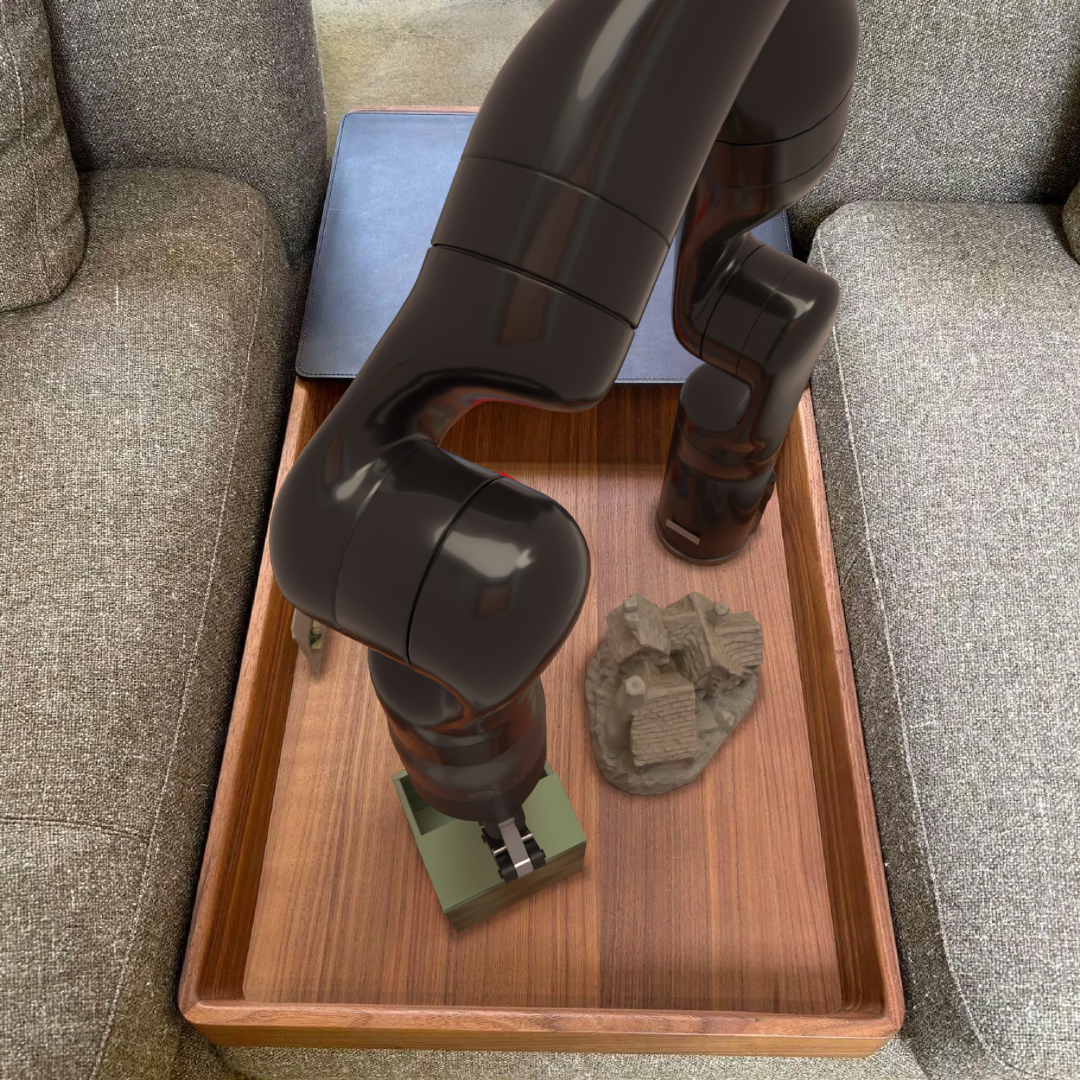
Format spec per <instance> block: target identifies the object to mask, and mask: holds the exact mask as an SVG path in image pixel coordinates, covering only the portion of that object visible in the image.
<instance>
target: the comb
mask: <svg viewBox="0 0 1080 1080" xmlns="http://www.w3.org/2000/svg"><path fill="white" fill-rule="evenodd" d="M293 611H294V612H293V616H292V620H291V626H290V631H291V638H292V640H294V641H295V642H296V643H297V644H298V646H299V648H300V651H301V653H302V654H303V656H304V657H305V658H306V660H307V662H308V663H309V664H310V666H311V668H312V669H313V671H314V672H315V674H316V675H317V676H319V675H320V670H321V664H322V659H323V658H322V657H323V652H324V643H325V639H326V633H327V628H328V627H327V626H325V625H323V624H321V623H319V622H317V621H315V620H313V619H311V618H310V617H308V616H306V615H304V614H303V613H301V612H300V611H299V610H297V609H296V608H295V607H294V610H293Z"/></svg>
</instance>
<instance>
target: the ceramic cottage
mask: <svg viewBox="0 0 1080 1080" xmlns="http://www.w3.org/2000/svg"><path fill="white" fill-rule="evenodd" d="M622 602H623V603H622V604H620V605H619V606H617V607H615V608H614V609H612V610H610V611H609V612H608V613H607V615H606V616H605V619H606V623H607V624H606V625H607V628H608V629H606V631H605V636H604V641H603V642H602V643H601V645H600V647H599V649H598V650H597V652H596V653H595V655H594V657H593V658H592V660H591V662H590V664H589V666H588V669H587V671H586V674H585V679H584V684H583V689H584V695H585V701H586V706H587V714H588V720H589V731H590V735H591V746H592V751H593V754H594V760H595V763H596V766H597V769H598V770H599V772H600V773H601V774H602V776H603V777H604V778H605V780H606V781H607V782H608V783H610V784H612V785H613V786H614V787H616V788H618V789H619V790H621V791H623V792H625V793H627V792H628V793H629V794H631V795H635V796H643V795H646V796H649V795H659V794H661V795H662V794H663V793H668V792H669V791H671V790H676V789H678V788H679V787H680V788H681V787H682V786H684V785H687V784H690V783H692V782H693V781H694V780H695V779H697V777H698V776H699V775H700V773H701V772H702V771H704V769H705V767H707V765H708V764H709V763H710V761H711V760H712V758H713V757H714V755H715V754H716V753H717V751H718V750H719V749H720V748H721V746H722V744H724V743H725V742H726V740H727V739H728V737H729V735H730V734H732V732H733V731H734V730H735V728H736V727H737V726H738V725H739V724H740V723H741V721H742V720H743V719H744V718H745V716H746V715H747V714H748V713H749V711H750V710H752V707H753V704H754V702H755V700H756V698H757V693H758V677H757V675H756V674H757V673H758V671H759V668H760V666H762V665H764V650H765V649H764V648H765V647H764V633H763V628H762V624H761V622H759V621H758V620H757V619H756V617H755V616H754V615H753V614H752V612H751V611H748V610H745V611H738V612H730V611H731V608H730V605H729V604H728V603H727V602H726V601H725V600H724V601H717V602H716V601H714V600H712V599H710V598H708V597H707V596H706V595H704V594H702V593H700V592H697V591H695V590H693V591H690V592H689V593H687V594H686V595H684V596H683V597H681V598H680V599H678V600H676V601H675V602H673V603H670V605H668V606H667V607H665V608H660V607H659V605H658V603H655V602H653V601H652V600H650V599H649V598H647V597H644V596H643V595H642V594H641V593H639V592H637V591H632V592H631V593H630V594H629V597H628V598H624V599H623V601H622Z"/></svg>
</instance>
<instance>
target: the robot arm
mask: <svg viewBox="0 0 1080 1080" xmlns="http://www.w3.org/2000/svg"><path fill="white" fill-rule="evenodd" d="M860 44H861V26H860V17H859V11H858V6H857V2H856V0H554V1H553V2H552V3H551V4H550V5H549V6H548V7H547V8H546V9H545V10H544V12H543V13H542V14H541V15H540V16H538V18H537V19H536V20H535V21H534V23H533V24H532V25H531V26H530V27H529V29H528V30H527V32H526V33H525V34H524V35H523V36H522V38H521V39H520V40H519V42H518V43H517V44H516V45H515V47H514V48H513V50H511V53H510V55H509V56H508V57H507V58H506V60H505V62H504V63H503V64H502V66H501V68H500V69H499V71H498V73H497V74H496V76H495V78H494V80H493V82H492V84H491V86H489V88H488V91H487V93H486V95H485V96H484V98H483V100H482V103H481V104H480V105H481V106H480V107H479V110H478V112H477V114H476V116H475V119H474V121H473V123H472V126H471V129H470V131H469V134H468V137H467V139H466V142H465V145H464V147H463V150H462V152H461V156H460V159H459V162H458V164H457V167H456V170H455V172H454V174H453V177H452V181H451V184H450V186H449V189H448V191H447V195H446V197H445V200H444V203H443V206H442V208H441V211H440V214H439V217H438V219H437V222H436V225H435V228H434V231H433V232H432V235H431V238H430V245H431V246H429V247H428V248H427V250H426V253H425V255H424V259H423V260H422V264H421V267H420V269H419V272H418V275H417V278H416V280H415V281H414V284H413V286H412V288H411V290H410V291H409V293H408V295H407V297H406V299H405V300H404V302H403V304H402V305H401V307H400V308H399V310H398V311H397V313H396V315H395V316H394V318H393V320H392V321H391V322H390V324H389V325H388V327H387V328H386V330H385V331H384V333H383V334H382V336H381V338H380V339H379V340H378V342H377V343H376V345H375V346H374V348H373V349H372V350H371V352H370V354H369V355H368V357H367V358H366V360H365V362H364V364H363V365H362V367H361V368H360V369H359V371H358V372H357V374H356V376H355V377H354V378H353V380H352V381H351V383H350V384H349V386H348V387H347V388H346V390H345V391H344V393H343V394H342V396H341V397H340V399H339V401H338V402H337V403H336V404H335V406H334V407H333V408H332V409H331V411H330V412H329V414H328V415H327V417H325V419H324V420H323V421H322V423H321V424H320V426H319V427H318V429H316V431H315V432H314V434H313V435H312V436H311V438H310V439H309V441H308V442H307V443H306V445H305V446H304V447H303V449H302V450H301V452H300V454H299V455H298V457H297V459H296V460H295V461H294V463H293V465H291V467H290V469H289V471H288V472H287V474H286V476H285V478H284V480H283V482H282V484H281V486H280V488H279V491H278V493H277V496H276V498H275V500H274V505H273V508H272V512H271V516H270V520H269V534H268V548H269V561H270V562H269V563H270V566H271V569H272V576H273V578H274V580H275V583H276V585H277V587H278V589H279V592H280V593H281V595H282V596H283V598H284V599H285V600H286V601H287V602H288V603H289V605H291V606H292V607H293V608H294V609H295V608H296V609H297V610H299V611H300V612H301V613H303V614H304V615H306V616H308V617H310V618H311V619H313V620H315V621H317V622H319V623H321V624H323V625H325V626H327V628H328V629H331V630H333V631H335V632H337V633H339V634H341V635H342V636H345V637H347V638H349V639H351V640H353V641H355V642H357V643H359V644H361V645H363V646H364V647H366V648H367V664H368V672H369V678H370V681H371V683H372V686H373V689H374V692H375V696H376V699H377V700H378V702H379V705H380V706H381V708H382V711H383V712H384V715H385V717H386V724H387V729H388V734H389V736H390V740H391V742H392V745H393V747H394V749H395V751H396V753H397V756H398V757H399V759H400V762H401V764H402V765H403V768H404V770H405V769H406V772H407V774H408V776H409V778H410V780H411V782H412V784H413V786H414V787H415V789H416V791H417V792H418V794H419V795H420V796H421V797H422V799H423V800H424V801H425V802H426V803H427V804H429V805H430V806H431V807H432V808H434V809H435V810H437V811H438V812H440V813H442V814H444V815H446V816H449V817H452V818H455V819H459V820H465V821H476V822H478V824H479V826H484V828H482V829H481V831H482V833H483V835H481V837H482V840H483V842H484V844H485V843H487V845H488V847H489V850H490V852H491V854H492V856H493V858H494V860H495V862H496V864H497V866H498V868H499V870H498V873H499V876H500V878H501V879H504V881H505V883H506V884H509V883H511V882H513V881H515V880H517V879H518V878H521V877H523V876H525V875H527V874H529V873H531V872H533V871H534V870H537V869H539V868H541V867H543V866H545V865H547V864H546V861H545V858H546V855H545V853H544V850H543V849H540V847H539V845H538V844H537V842H536V840H535V839H534V836H533V834H532V832H531V831H530V830H529V829H528V827H527V826H526V823H525V820H526V818H525V813H524V810H523V807H522V804H523V803H524V802H525V801H526V799H527V798H528V797H529V796H530V794H531V793H532V791H533V790H534V788H535V787H536V785H537V784H538V782H539V780H540V778H541V775H542V773H543V770H544V766H545V762H546V758H547V754H548V740H547V739H548V738H547V737H548V735H547V731H548V729H547V725H548V724H547V699H546V694H545V689H544V686H543V682H542V679H541V675H542V674H543V673H544V672H545V670H546V669H547V668H548V667H549V666H550V665H551V663H552V662H553V660H554V659H555V658H556V656H557V655H558V653H559V652H560V651H561V649H562V647H563V646H564V645H565V643H566V642H567V640H568V638H569V637H570V635H571V634H572V631H573V630H574V628H575V626H576V624H577V622H578V620H579V618H580V616H581V614H582V611H583V608H584V606H585V603H586V600H587V597H588V593H589V588H590V583H591V577H592V557H591V552H590V549H589V545H588V542H587V538H586V537H585V535H584V533H583V531H582V529H581V527H580V525H579V524H578V522H577V521H576V519H575V518H574V516H573V515H572V514H571V513H570V512H569V511H568V510H567V509H566V508H565V507H564V506H563V505H562V504H561V503H559V502H558V501H557V500H555V499H554V498H553V497H551V496H549V495H548V494H546V493H545V492H542V491H540V490H538V489H536V488H533V487H531V486H529V485H527V484H524V483H522V482H520V481H519V482H517V481H518V480H517V481H515V480H513V479H510V478H507V477H504V476H502V475H500V474H498V473H499V472H496V471H493V470H491V469H488V468H486V467H484V466H482V465H479V464H478V463H475V462H473V461H471V460H469V459H466V458H464V457H461V456H459V455H457V454H455V453H452V452H450V451H448V450H447V449H444V448H441V446H442V443H443V441H444V439H445V436H447V433H448V432H449V431H450V430H451V428H452V427H453V426H454V425H455V424H456V423H457V422H458V421H459V420H460V419H461V418H463V417H464V416H465V415H466V414H467V413H469V412H470V411H471V410H472V409H474V408H476V407H478V406H479V405H481V404H483V403H488V402H489V403H490V402H493V403H494V402H495V403H496V402H497V403H505V404H506V403H507V404H512V405H513V404H514V405H520V406H524V407H530V408H536V409H541V410H546V411H552V412H557V413H558V412H559V413H560V412H561V413H574V414H575V413H582V412H587V411H589V410H592V409H594V408H595V407H597V406H598V405H600V404H601V403H602V402H603V401H604V400H605V399H606V397H607V396H608V394H609V393H610V391H611V390H612V389H613V386H614V385H615V382H616V380H617V379H618V377H619V374H620V372H621V370H622V367H623V366H624V363H625V361H626V359H627V356H628V354H629V351H630V349H631V346H632V343H633V340H634V338H635V336H636V332H635V330H638V328H639V326H640V325H641V322H642V319H643V316H644V314H645V311H646V308H647V306H648V305H649V301H650V299H651V296H652V295H653V292H654V290H655V287H656V285H657V282H658V280H659V277H660V275H661V272H662V270H663V267H664V265H665V262H666V259H667V257H668V255H669V253H670V249H671V247H672V244H673V242H674V255H673V271H672V284H671V296H670V297H671V299H670V320H671V328H672V331H673V332H672V333H673V335H674V337H675V340H676V341H677V343H678V344H679V345H680V346H681V347H682V348H683V349H684V350H685V351H686V352H687V353H689V354H690V355H692V356H693V357H695V358H696V359H698V360H700V361H702V362H704V363H702V364H701V365H698V366H697V367H696V368H694V369H693V371H692V372H690V374H689V375H688V376H687V377H686V379H685V381H684V382H683V385H682V386H681V390H680V393H679V397H678V402H677V408H676V412H675V419H674V422H673V428H672V434H671V439H670V443H669V448H668V454H667V459H666V464H665V469H664V474H663V479H662V485H661V490H660V495H659V500H658V503H657V506H656V509H655V514H654V529H655V533H656V536H657V538H658V540H659V542H660V543H661V546H663V547H664V548H665V550H666V551H667V552H669V554H671V555H672V556H673V557H675V558H677V559H679V560H680V561H682V562H685V563H688V564H690V565H694V566H695V565H696V566H704V567H705V566H708V567H709V566H715V565H716V566H717V565H720V564H723V563H727V562H728V561H731V560H732V559H734V558H735V557H736V556H738V555H739V554H740V553H741V552H742V551H743V549H744V548H745V546H746V544H747V543H748V539H749V537H750V536H752V535H753V534H756V533H757V531H758V529H759V526H760V524H761V521H762V518H763V516H764V514H765V511H766V508H767V505H768V503H769V502H770V501H771V498H772V496H773V494H774V490H775V485H776V483H777V474H776V472H775V471H774V467H775V464H776V462H777V459H778V458H779V457H778V456H779V453H780V451H781V448H782V446H783V443H784V440H785V437H786V435H787V433H788V430H789V427H790V425H791V422H792V420H793V418H794V416H795V414H796V411H797V409H798V407H799V404H800V402H801V400H802V397H803V395H804V393H805V390H806V388H807V385H808V382H809V380H810V378H811V377H812V376H811V375H812V374H813V371H814V369H815V366H816V365H817V363H818V360H819V358H820V357H821V355H822V352H823V350H824V348H825V345H826V343H827V342H828V340H829V337H830V335H831V333H832V331H833V328H834V326H835V324H836V321H837V317H838V314H839V311H840V307H841V299H842V295H841V287H840V284H839V282H838V281H837V280H836V279H835V278H834V277H832V276H831V275H829V274H828V273H826V272H824V271H822V270H820V269H818V268H816V267H814V266H812V265H810V264H808V263H805V262H804V261H801V260H799V259H798V258H795V257H793V256H791V255H789V254H787V253H785V252H783V251H782V250H779V249H777V248H775V247H773V246H771V245H769V244H767V243H764V242H763V241H761V240H760V239H758V238H757V237H756V236H755V235H754V234H753V232H752V231H751V230H753V229H756V228H757V227H759V226H761V225H763V224H765V223H766V222H768V221H770V220H771V219H773V218H774V217H777V216H778V215H780V214H782V213H783V212H785V211H787V210H788V209H789V208H791V207H792V206H794V205H796V203H798V202H799V201H801V199H802V198H805V196H806V195H807V194H809V193H810V192H811V190H813V189H814V188H815V187H816V185H818V184H819V182H820V181H821V180H822V179H823V177H825V175H826V174H827V172H828V171H829V170H830V168H831V167H832V165H833V163H834V162H835V160H836V158H837V156H838V153H839V151H840V148H841V146H842V143H843V139H844V136H845V133H846V127H847V123H848V118H849V111H850V108H851V107H850V106H851V100H852V95H853V90H854V85H855V78H856V74H857V68H858V67H857V66H858V59H859V54H860V53H859V52H860Z"/></svg>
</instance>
